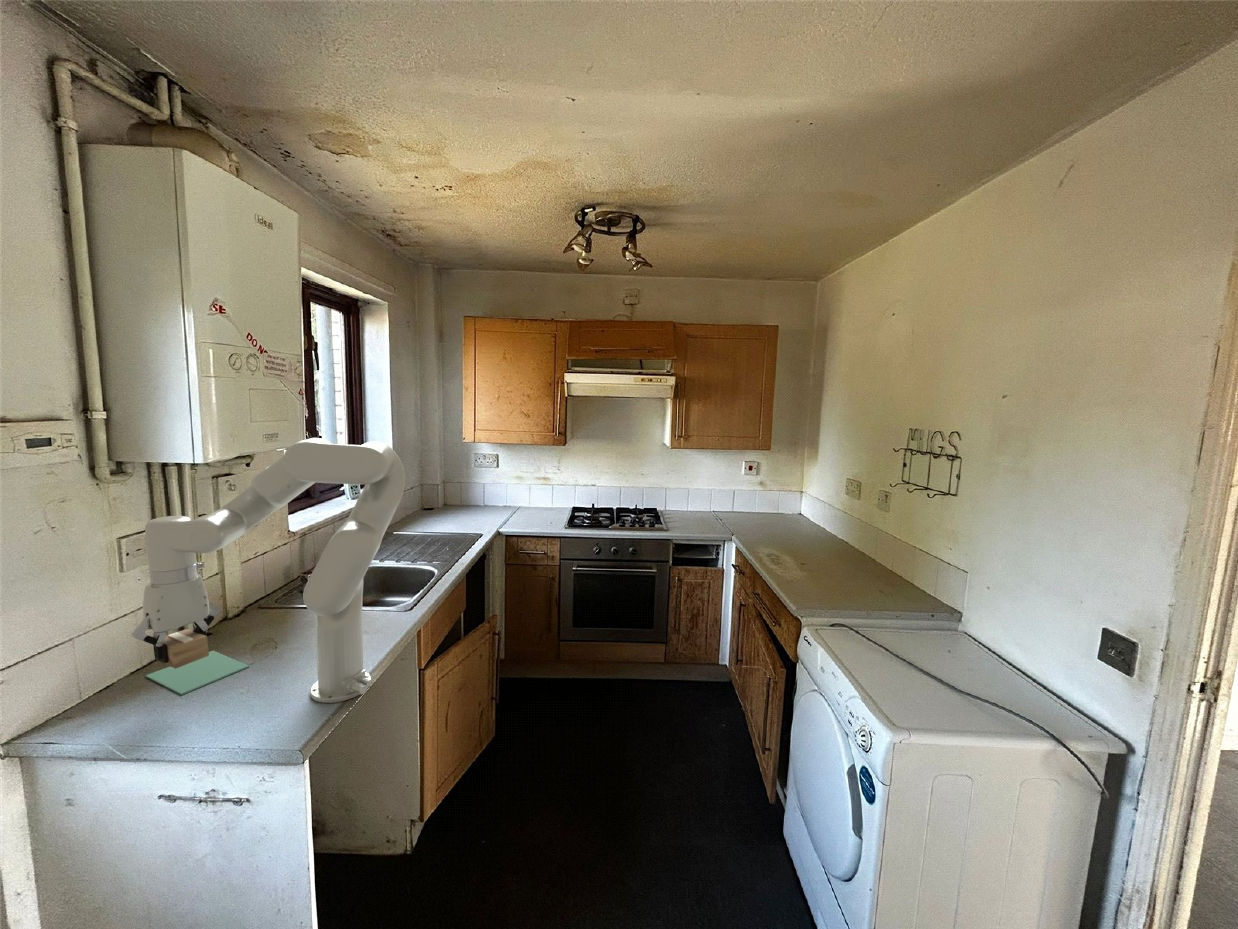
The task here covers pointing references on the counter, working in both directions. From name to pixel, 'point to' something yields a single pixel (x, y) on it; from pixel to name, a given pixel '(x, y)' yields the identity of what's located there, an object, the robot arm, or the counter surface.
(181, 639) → the cardboard box
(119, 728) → the counter surface
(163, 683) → the play mat
